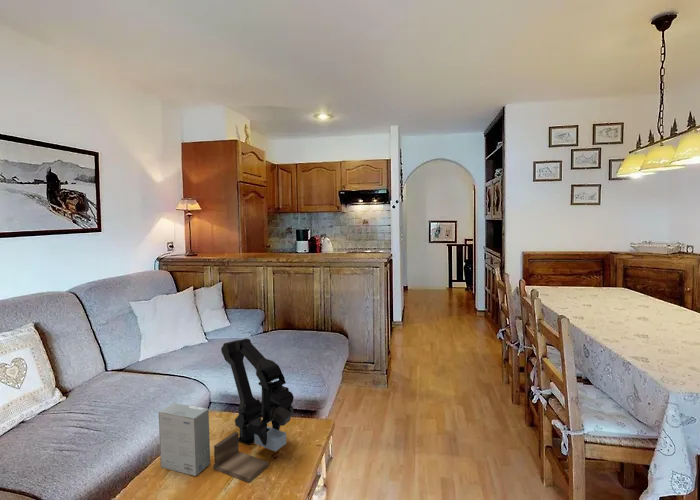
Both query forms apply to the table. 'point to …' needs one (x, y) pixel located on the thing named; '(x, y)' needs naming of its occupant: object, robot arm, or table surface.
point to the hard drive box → (184, 438)
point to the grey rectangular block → (272, 439)
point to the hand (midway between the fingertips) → (270, 440)
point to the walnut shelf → (236, 460)
